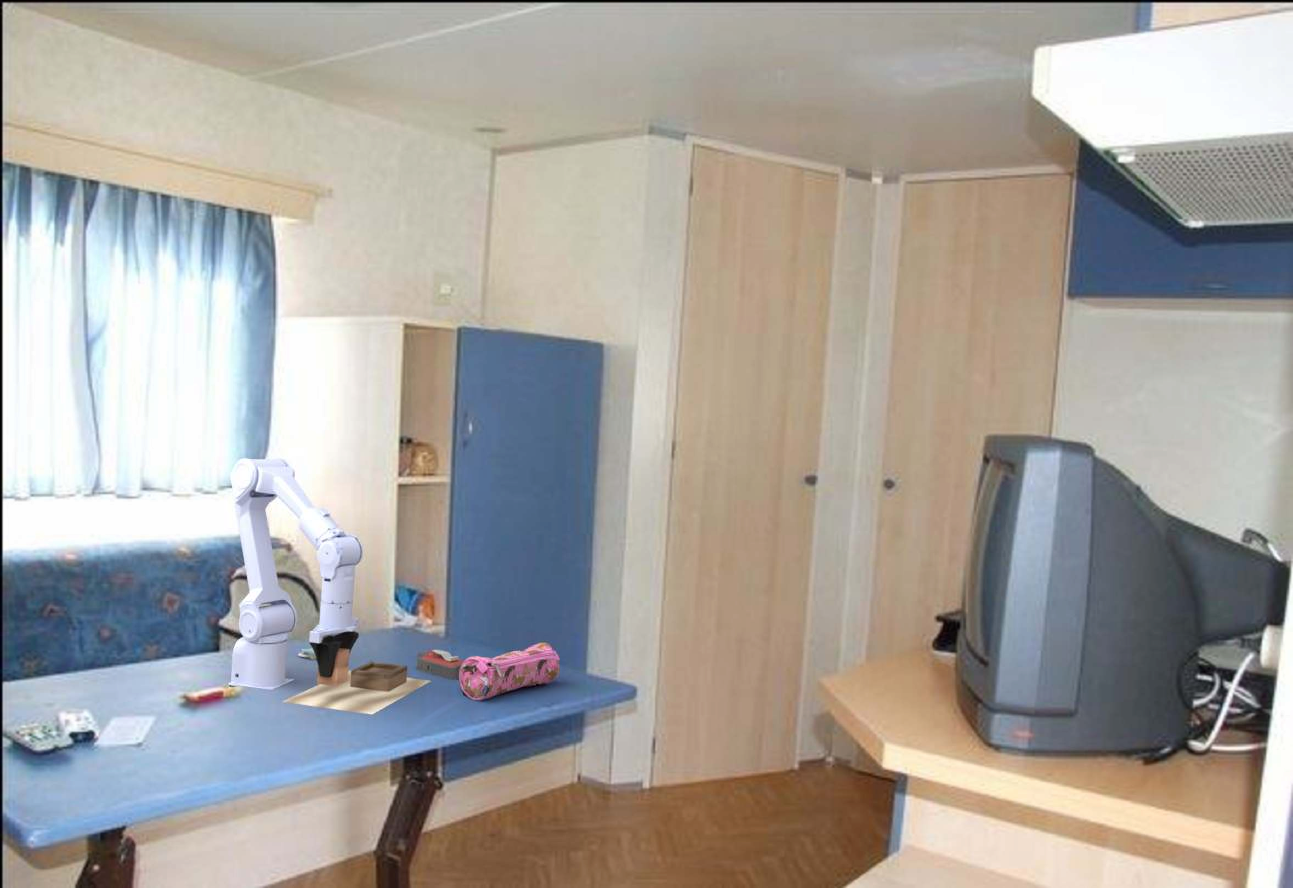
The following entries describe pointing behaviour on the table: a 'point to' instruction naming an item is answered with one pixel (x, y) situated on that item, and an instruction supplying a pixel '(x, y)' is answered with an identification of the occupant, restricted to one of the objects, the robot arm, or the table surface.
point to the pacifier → (307, 653)
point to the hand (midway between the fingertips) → (332, 673)
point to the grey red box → (439, 664)
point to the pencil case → (508, 671)
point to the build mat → (362, 689)
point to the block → (337, 670)
